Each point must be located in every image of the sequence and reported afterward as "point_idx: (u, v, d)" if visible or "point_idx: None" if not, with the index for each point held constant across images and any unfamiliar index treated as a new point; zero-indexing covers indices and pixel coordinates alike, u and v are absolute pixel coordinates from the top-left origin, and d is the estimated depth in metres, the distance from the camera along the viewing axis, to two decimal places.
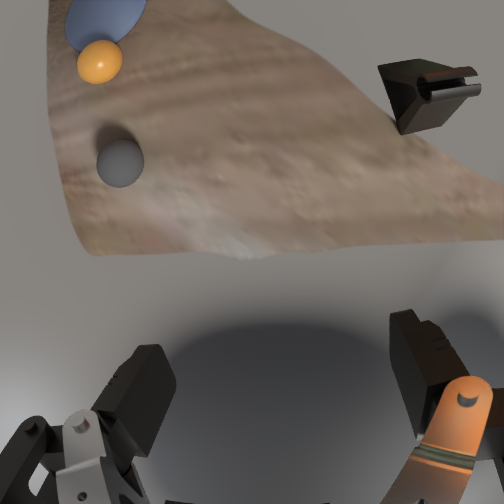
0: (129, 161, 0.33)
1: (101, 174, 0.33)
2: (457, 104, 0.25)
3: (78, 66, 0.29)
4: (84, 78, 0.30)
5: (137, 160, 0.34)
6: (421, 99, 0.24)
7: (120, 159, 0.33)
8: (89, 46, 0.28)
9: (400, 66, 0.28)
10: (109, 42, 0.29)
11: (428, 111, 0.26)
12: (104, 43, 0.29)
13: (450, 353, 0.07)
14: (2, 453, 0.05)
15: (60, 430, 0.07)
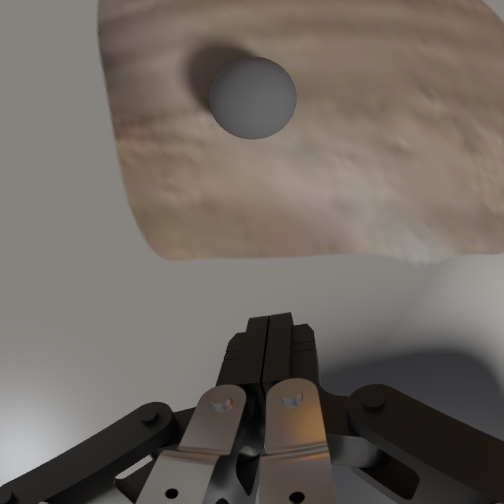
0: (286, 90, 0.18)
1: (226, 108, 0.18)
2: None
3: None
4: None
5: (295, 93, 0.19)
6: None
7: (272, 83, 0.17)
8: None
9: None
10: None
11: None
12: None
13: (309, 356, 0.09)
14: (101, 432, 0.06)
15: (182, 415, 0.07)
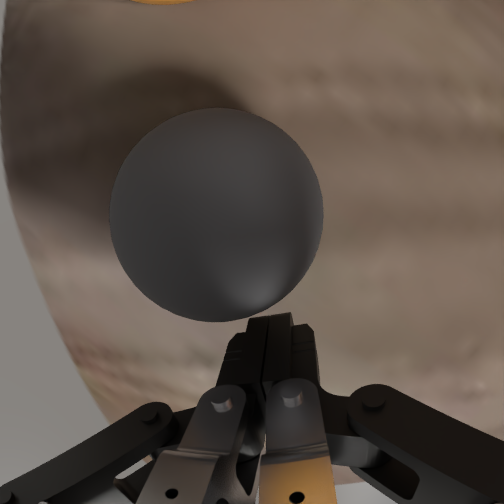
0: None
1: None
2: None
3: None
4: None
5: None
6: None
7: None
8: None
9: None
10: None
11: None
12: None
13: (309, 356, 0.09)
14: (101, 432, 0.06)
15: (182, 415, 0.07)
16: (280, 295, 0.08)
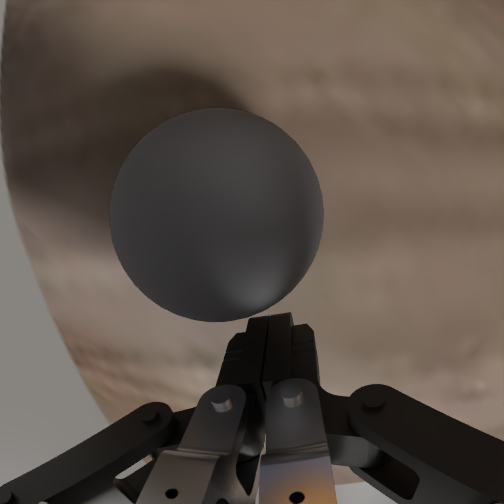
0: None
1: None
2: None
3: None
4: None
5: None
6: None
7: None
8: None
9: None
10: None
11: None
12: None
13: (309, 356, 0.09)
14: (101, 432, 0.06)
15: (182, 415, 0.07)
16: (280, 295, 0.08)
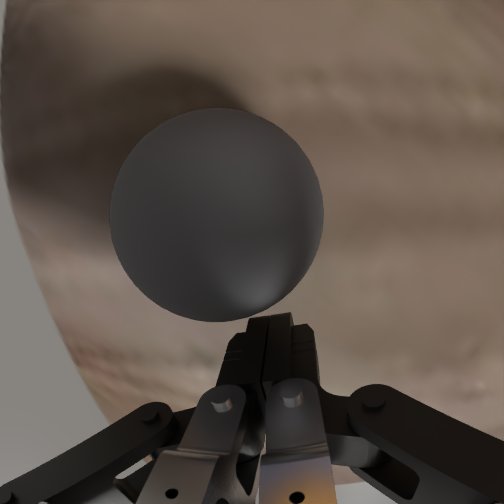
0: None
1: None
2: None
3: None
4: None
5: None
6: None
7: None
8: None
9: None
10: None
11: None
12: None
13: (309, 356, 0.09)
14: (101, 432, 0.06)
15: (182, 415, 0.07)
16: (280, 295, 0.08)
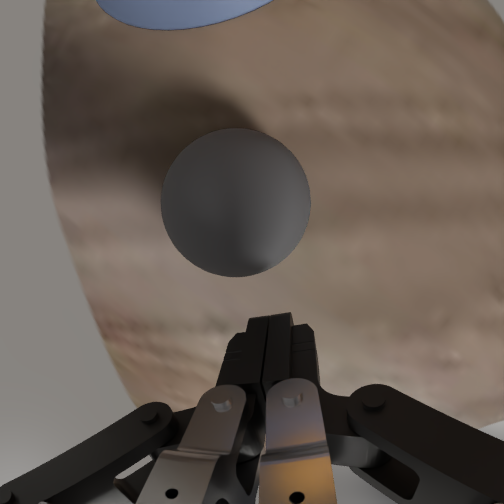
0: None
1: None
2: None
3: None
4: None
5: None
6: None
7: None
8: None
9: None
10: None
11: None
12: None
13: (309, 356, 0.09)
14: (101, 432, 0.06)
15: (183, 415, 0.07)
16: (281, 254, 0.12)
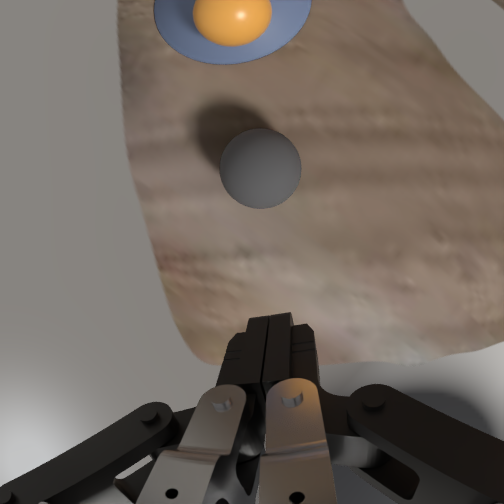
0: None
1: None
2: None
3: None
4: None
5: (294, 146, 0.22)
6: None
7: None
8: None
9: None
10: None
11: None
12: None
13: (309, 356, 0.09)
14: (101, 432, 0.06)
15: (182, 415, 0.07)
16: (285, 193, 0.22)
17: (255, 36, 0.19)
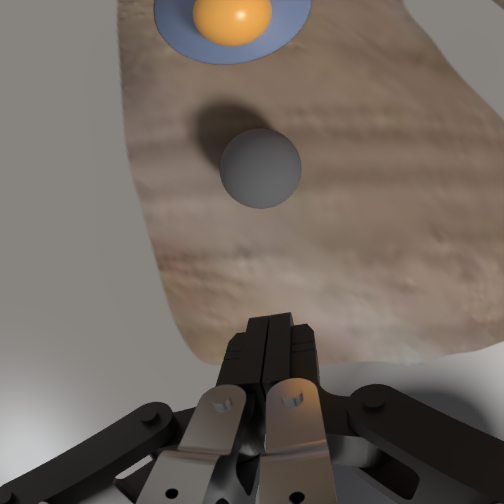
0: None
1: None
2: None
3: None
4: None
5: None
6: None
7: None
8: None
9: None
10: None
11: None
12: None
13: (309, 356, 0.09)
14: (102, 432, 0.06)
15: (182, 415, 0.07)
16: (286, 193, 0.22)
17: (255, 36, 0.19)
